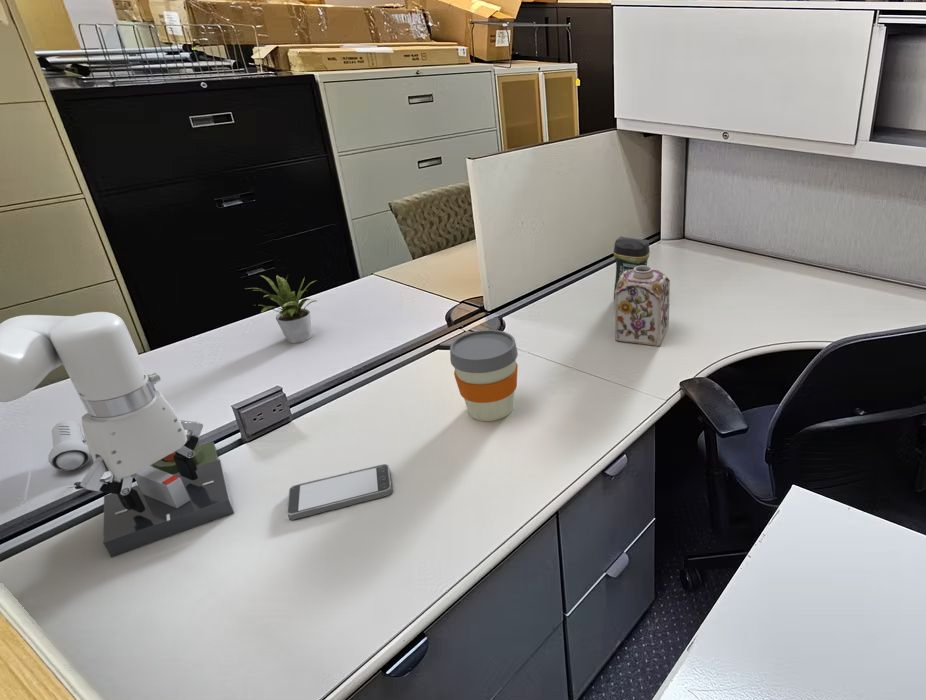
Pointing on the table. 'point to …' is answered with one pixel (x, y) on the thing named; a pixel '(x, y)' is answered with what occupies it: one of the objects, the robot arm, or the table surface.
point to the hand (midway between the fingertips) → (163, 492)
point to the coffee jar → (629, 255)
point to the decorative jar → (642, 306)
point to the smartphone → (338, 491)
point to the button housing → (201, 457)
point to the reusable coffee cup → (486, 372)
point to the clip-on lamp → (69, 448)
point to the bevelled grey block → (162, 486)
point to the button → (169, 457)
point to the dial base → (167, 512)
